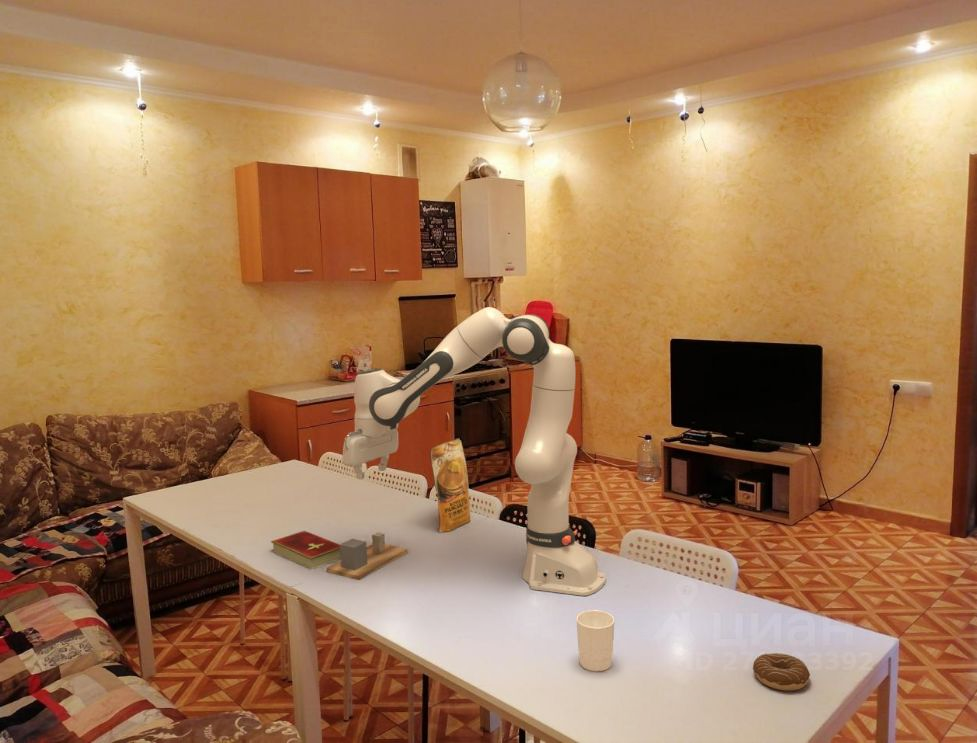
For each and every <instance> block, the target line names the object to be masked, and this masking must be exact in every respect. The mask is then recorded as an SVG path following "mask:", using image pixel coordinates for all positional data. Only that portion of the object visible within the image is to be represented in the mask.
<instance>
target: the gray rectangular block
mask: <svg viewBox="0 0 977 743" xmlns="http://www.w3.org/2000/svg"><path fill="white" fill-rule="evenodd" d="M339 545H340V554H341V559H340V561H341V567H343V568H347V569H351V570H357V569H359V568H361V567H363V566H364V565H366V564H367V547H368V546H367V545H368V544H367V541H364V540H361V539H356V538H351V539H349V540H347V541H345V542H342V543H340V544H339Z"/></svg>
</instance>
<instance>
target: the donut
mask: <svg viewBox="0 0 977 743" xmlns="http://www.w3.org/2000/svg"><path fill="white" fill-rule="evenodd" d="M752 670H753V673H754V675H755V677H756V678H757V679H758V681H760V682H761V683H762V684H763V685H766V686H767V687H769V688H772V689H775V690H778V691H779V690H780V691H784V692H785V691H787V692H790V691H797V690H801V689H803V688H804V687H805V686H806V685H807V684H808V682H809V680H810V676H811V674H810V671H809V668H808V667H807V665H806V664H805V662H804V661H802V660H801V659H800V658H797V657H795V656H792V655H790V654H787V653H778V652H773V653H772V652H771V653H764V654H761V655H759V656H758V657H757V658H756V659H755V660H754V661H753V665H752Z"/></svg>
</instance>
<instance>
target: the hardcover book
mask: <svg viewBox="0 0 977 743" xmlns="http://www.w3.org/2000/svg"><path fill="white" fill-rule="evenodd" d="M270 542H271V544H272V545H273V553H276V554H277V555H279V556H282V557H283V558H287V559H288V560H290V561H293V562H295V563H297V564H299V565H301V566H304V567H306V568H308V569H311V570H313V569H315V568H316V569H317V568H319V567H321V566H324V565H327V564H329V563H332V562H334V561H337V560H341V554H340V544H339V543H336V542H334V541H331V540H328V539H326V538H324V537H321V536H319V535H317V534H314V533H311V532H309V531H307V530H301V531H299V532H295V533H291V534H288V535H286V536H283V537H279V538H277V539H273V540H271V541H270Z"/></svg>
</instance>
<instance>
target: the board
mask: <svg viewBox="0 0 977 743" xmlns="http://www.w3.org/2000/svg"><path fill="white" fill-rule="evenodd" d="M408 551H409V550H408V548H406V547H401V546H396V545H392V544H386V543H385V552H383V553H382V554H376V553H373V545H372V544H369V545H368V546H367V564H366V565H364V566H363V567H361V568H359V569H357V570H351V569H347V568H343V567H341V560H339V561H337V562H334V563H333V564H331V565H329V566H327V567H326V573H329V574H333V575H337V576H342V577H345V578H349V579H353V580H358V581H360V580H362V579H364V578H365V577H367V576H369V575H371V574H372V573H374V572H377V571H378V570H380V569H381V568H384V567H385V566H386V565H389V564H390V563H392V562H394V561H396V560H397V559H399V558H401V557H403V556H404V555H406V554H408V553H409V552H408Z"/></svg>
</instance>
